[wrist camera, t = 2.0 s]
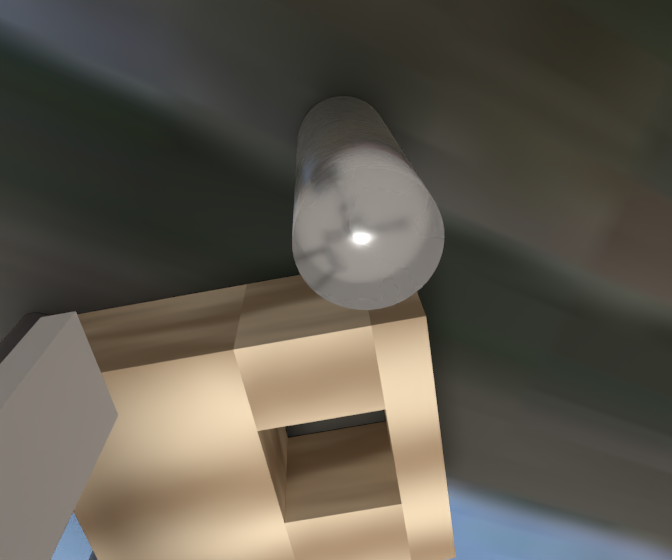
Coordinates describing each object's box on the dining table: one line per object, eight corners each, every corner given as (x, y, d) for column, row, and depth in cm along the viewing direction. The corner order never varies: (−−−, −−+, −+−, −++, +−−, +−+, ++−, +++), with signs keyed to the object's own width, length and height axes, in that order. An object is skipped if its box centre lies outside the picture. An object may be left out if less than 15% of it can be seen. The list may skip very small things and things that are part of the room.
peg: (289, 105, 26) (277, 183, 15) (380, 87, 25) (436, 154, 15) (306, 192, 27) (308, 321, 16) (392, 177, 27) (450, 296, 16)
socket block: (65, 316, 29) (11, 388, 24) (403, 256, 29) (426, 316, 23) (151, 517, 35) (123, 611, 30) (432, 470, 35) (455, 557, 29)
